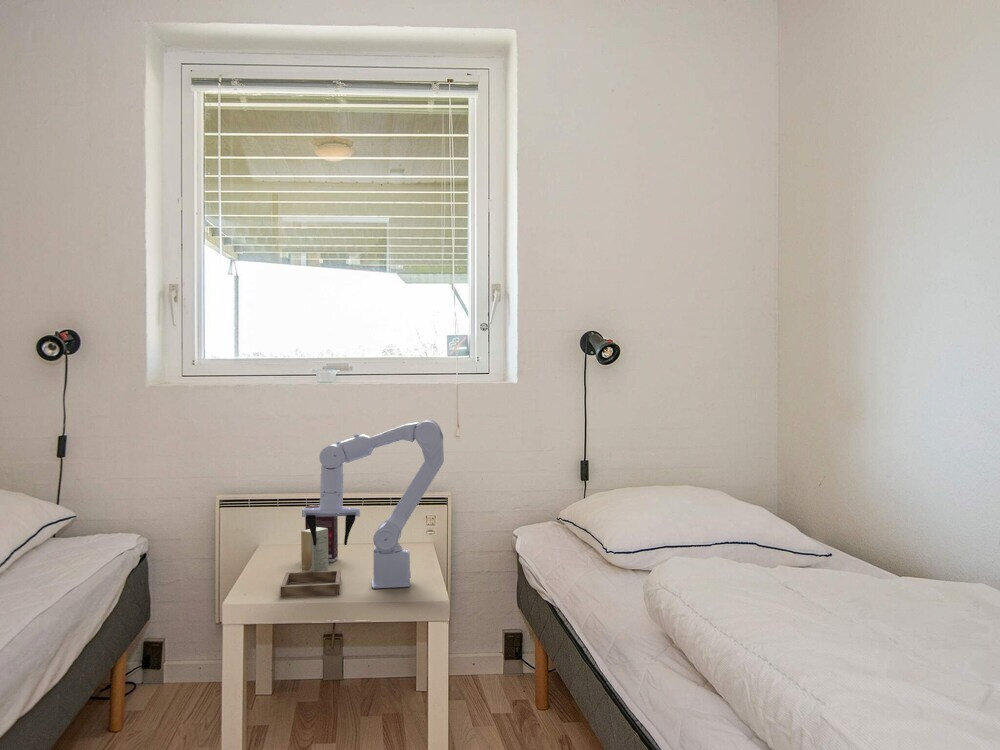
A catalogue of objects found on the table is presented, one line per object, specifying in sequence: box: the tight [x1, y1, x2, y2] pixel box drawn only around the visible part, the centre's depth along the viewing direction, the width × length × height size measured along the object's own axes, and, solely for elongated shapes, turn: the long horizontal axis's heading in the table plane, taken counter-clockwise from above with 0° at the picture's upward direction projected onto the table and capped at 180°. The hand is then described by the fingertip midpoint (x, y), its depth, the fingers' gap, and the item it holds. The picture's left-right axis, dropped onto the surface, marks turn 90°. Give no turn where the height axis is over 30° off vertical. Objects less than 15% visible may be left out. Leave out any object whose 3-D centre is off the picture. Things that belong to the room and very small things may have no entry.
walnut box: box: [280, 569, 342, 598], centre depth 194 cm, size 14×14×2 cm
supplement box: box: [304, 504, 339, 563], centre depth 224 cm, size 9×5×16 cm, turn 88°
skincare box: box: [300, 527, 330, 572], centre depth 208 cm, size 6×4×12 cm
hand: (330, 544), depth 197 cm, fingers open, 7 cm apart
